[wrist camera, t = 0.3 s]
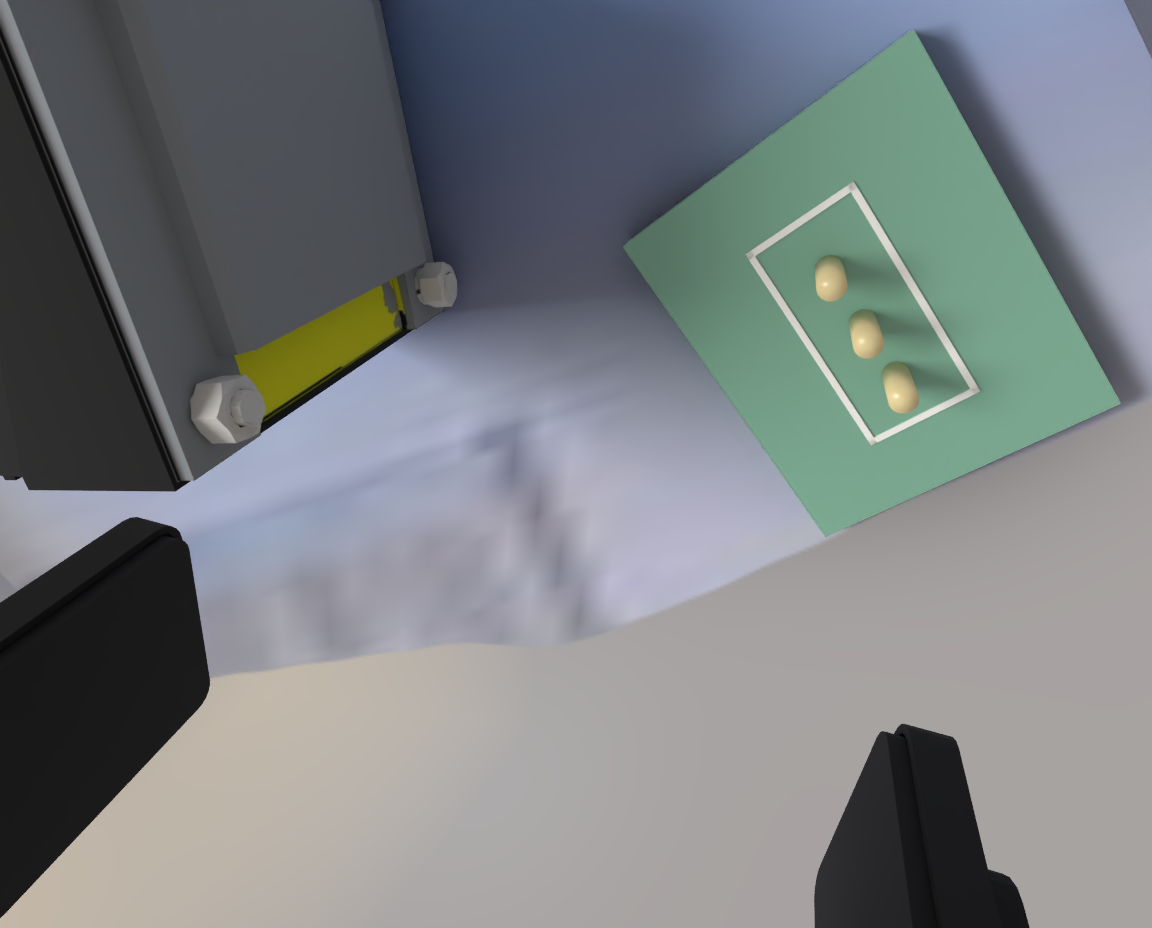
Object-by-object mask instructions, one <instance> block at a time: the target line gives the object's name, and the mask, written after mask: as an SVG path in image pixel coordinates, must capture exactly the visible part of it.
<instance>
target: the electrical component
mask: <svg viewBox="0 0 1152 928" xmlns="http://www.w3.org/2000/svg"><path fill="white" fill-rule="evenodd" d="M456 297H457V279H456V276H455V273H454V271H453V268H452V267H451V266H450V265H449V264H446V263H444V262H434V259H433V255H432V250H431V245H430V240H429V235H428V231H427V226H426V221H425V216H424V211H423V206H422V202H421V197H420V192H419V187H418V182H417V177H416V173H415V168H414V163H413V158H412V153H411V149H410V144H409V139H408V134H407V129H406V124H405V120H404V115H403V110H402V105H401V100H400V96H399V91H398V86H397V81H396V76H395V71H394V67H393V62H392V57H391V52H390V47H389V43H388V38H387V33H386V28H385V23H384V18H383V14H382V9H381V4H380V0H0V476H3V477H4V479H5V480H17V479H19V478H21V477H23V479H24V481H25V483H26V485H27V487H28V489H29V490H84V491H177V490H178V489H180V488H181V487H183V486H184V485H186V484H187V483H188V482H190V481H195V480H196V479H197V478H199V477H200V476H202V475H203V474H205V473H206V472H208V471H209V470H211V469H212V468H214V467H215V466H216V465H218V464H219V463H221V462H222V461H224V460H225V459H227V458H228V457H230V456H231V455H233V454H234V453H235V452H237V451H238V450H240V449H241V448H243V447H244V446H246V445H247V444H249V443H250V442H252V441H253V440H255V439H256V438H257V437H259V436H260V435H261V433H262V432H263V431H265V430H266V429H268V428H269V427H271V426H272V425H274V424H275V423H277V422H278V421H280V420H281V419H283V418H284V417H286V416H287V415H288V414H290V413H291V412H293V411H294V410H296V409H297V408H299V407H300V406H302V405H303V404H305V403H306V402H308V401H309V400H311V399H312V398H313V397H315V396H316V395H318V394H319V393H321V392H322V391H324V390H325V389H327V388H328V387H330V386H331V385H333V384H334V383H336V382H337V381H338V380H340V379H341V378H343V377H344V376H346V375H347V374H349V373H350V372H352V371H353V370H355V369H356V368H358V367H359V366H361V365H362V364H363V363H365V362H366V361H368V360H369V359H371V358H372V357H374V356H375V355H377V354H378V353H380V352H381V351H383V350H384V349H386V348H387V347H388V346H390V345H391V344H393V343H394V342H396V341H397V340H399V339H400V338H402V337H403V336H405V335H406V334H408V333H409V332H411V331H412V330H413V329H417V328H418V327H420V326H421V325H423V324H424V323H426V322H427V321H429V320H430V319H432V318H433V317H434V316H436V315H437V314H439V313H440V312H442V311H443V310H444V308H443V307H452V305H453V304H454V302H455V300H456Z"/></svg>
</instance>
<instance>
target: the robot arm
mask: <svg viewBox="0 0 1152 928" xmlns="http://www.w3.org/2000/svg"><path fill="white" fill-rule="evenodd" d="M209 686H210V677H209V671H208V665H207V659H206V652H205V646H204V640H203V633H202V627H201V621H200V614H199V608H198V602H197V595H196V589H195V583H194V576H193V570H192V564H191V557H190V551H189V547H188V545H187V544H186V542H185V541H183V540H182V537H181V534H180V532H179V531H178V530H177V529H176V528H174V527H171V526H168V525H164V524H160V523H157V522H153V521H149V520H146V519H142V518H138V517H135V518H129V519H127V520H125V521H123V522H121V523H120V524H118V525H117V526H115V527H114V528H112V529H111V530H109V531H108V532H106V533H105V534H103V535H102V536H100V537H99V538H97V539H96V540H94V541H93V542H91V543H90V544H88V545H86V546H85V547H83V548H82V549H80V550H79V551H77V552H76V553H74V554H73V555H71V556H70V557H68V558H67V559H65V560H64V561H62V562H61V563H59V564H58V565H56V566H55V567H53V568H52V569H50V570H49V571H47V572H46V573H44V574H43V575H41V576H40V577H38V578H37V579H35V580H34V581H32V582H31V583H29V584H28V585H26V586H25V587H23V588H22V589H20V590H19V591H17V592H16V593H14V594H13V595H11V596H10V597H8V598H7V599H5V600H4V601H2V602H1V603H0V918H1V917H2V916H3V915H4V914H5V913H6V912H7V911H8V910H9V909H10V908H11V906H13V905H14V904H15V902H16V901H17V900H18V899H19V898H20V897H21V896H22V895H23V894H24V893H25V892H26V891H27V890H28V889H29V888H30V886H32V884H33V883H34V882H35V881H36V880H37V879H38V878H39V877H40V876H41V875H42V874H43V873H44V872H45V871H46V870H47V869H48V868H49V866H50V865H51V864H52V863H53V862H54V861H55V860H56V859H57V858H58V857H59V856H60V855H61V854H62V853H63V852H64V851H65V849H66V848H67V847H68V846H69V845H70V844H71V843H72V842H73V841H74V840H75V839H76V838H77V837H78V836H79V835H80V834H81V832H82V831H83V830H84V829H85V828H86V827H87V826H88V825H89V824H90V823H91V822H92V821H93V820H94V819H95V818H96V817H97V815H99V813H100V812H101V811H102V810H103V809H104V808H105V807H106V806H107V805H108V804H109V803H110V802H111V801H112V800H113V798H115V796H116V795H117V794H118V793H119V792H120V791H121V790H122V789H123V788H124V787H125V786H126V785H127V783H129V782H130V781H131V780H132V778H133V777H134V776H135V775H136V774H137V773H138V772H139V771H140V770H141V769H142V768H143V767H144V766H145V765H146V764H147V763H148V762H149V760H150V759H151V758H152V757H153V756H154V755H155V754H156V753H157V752H158V751H159V750H160V749H161V748H162V747H163V745H164V744H165V743H166V742H167V741H168V740H169V739H170V738H171V737H172V736H173V735H174V734H175V733H176V732H177V730H179V729H180V728H181V726H182V725H183V724H184V723H185V722H186V721H187V720H188V719H189V718H190V717H191V716H192V715H193V714H194V713H195V712H196V711H197V710H198V708H199V707H200V706H201V705H202V703H203V702H204V700H205V698H206V696H207V694H208V691H209ZM814 898H815V899H814V900H815V901H814V903H815V905H814V906H815V928H1029V924H1028V920H1027V917H1026V913H1025V909H1024V906H1023V903H1022V900H1021V897H1020V894H1019V892H1018V889H1017V887H1016V886H1015V884H1014V883H1013V881H1012V880H1011V879H1010V877H1008V876H1006V875H1004V874H1002V873H998V872H995V871H991V870H988V868H987V864H986V860H985V856H984V852H983V848H982V843H981V839H980V835H979V831H978V827H977V822H976V819H975V814H974V810H973V805H972V801H971V797H970V793H969V789H968V784H967V780H966V776H965V772H964V768H963V764H962V759H961V755H960V751H959V748H958V745H957V742H956V740H955V739H954V738H953V737H951V736H947V735H943V734H939V733H936V732H932V731H928V730H924V729H921V728H917V727H914V726H910V725H906V724H901V725H900V726H899V727H898V728H897V730H896V731H895V733H894V734H891V733H888V732H883V731H882V732H880V733H879V735H878V737H877V738H876V741H875V743H874V745H873V747H872V750H871V752H870V754H869V757H868V759H867V761H866V763H865V766H864V768H863V770H862V772H861V775H860V777H859V779H858V781H857V784H856V786H855V788H854V790H853V793H852V795H851V797H850V799H849V802H848V804H847V806H846V808H845V811H844V813H843V815H842V818H841V820H840V822H839V825H838V827H837V829H836V831H835V833H834V836H833V838H832V840H831V843H830V845H829V847H828V849H827V852H826V854H825V856H824V858H823V861H822V863H821V865H820V868H819V871H818V875H817V879H816V885H815V897H814Z"/></svg>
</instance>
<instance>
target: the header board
mask: <svg viewBox="0 0 1152 928" xmlns="http://www.w3.org/2000/svg"><path fill="white" fill-rule="evenodd" d="M623 249H624V250H625V252H626V253H627V254H628V256H629V257H630V259H631V260H632V262H633V263H634V264H635V266H636V267H637V269H638V270H639V271H640V273H641V274H642V276H643V277H644V279H645V280H646V281H647V283H648V284H649V286H650V287H651V289H652V290H653V291H654V293H655V294H656V296H657V297H658V299H659V300H660V301H661V303H662V304H663V306H664V307H665V309H666V310H667V311H668V313H669V314H670V316H671V317H672V319H673V320H674V321H675V323H676V324H677V326H678V327H679V329H680V330H681V331H682V333H683V334H684V336H685V337H686V339H687V340H688V341H689V343H690V344H691V346H692V347H693V349H694V350H695V351H696V353H697V354H698V356H699V357H700V359H701V360H702V361H703V363H704V364H705V366H706V367H707V369H708V370H709V371H710V373H711V374H712V376H713V377H714V379H715V380H716V381H717V383H718V384H719V386H720V387H721V389H722V390H723V391H724V393H725V394H726V396H727V397H728V399H729V400H730V401H731V403H732V404H733V406H734V407H735V408H736V410H737V411H738V413H739V414H740V416H741V417H742V418H743V420H744V421H745V423H746V424H747V426H748V427H749V428H750V430H751V431H752V433H753V434H754V436H755V437H756V438H757V440H758V441H759V443H760V444H761V446H762V447H763V448H764V450H765V451H766V453H767V454H768V456H769V457H770V458H771V460H772V461H773V463H774V464H775V466H776V467H777V468H778V470H779V471H780V473H781V474H782V476H783V477H784V478H785V480H786V481H787V483H788V484H789V486H790V487H791V488H792V490H793V491H794V493H795V494H796V496H797V497H798V498H799V500H800V501H801V503H802V504H803V506H804V507H805V508H806V510H807V511H808V513H809V514H810V516H811V517H812V518H813V520H814V521H815V523H816V524H817V526H818V527H819V528H820V530H821V531H822V533H823V534H824V535H825V537H827V536H829V535H831V534H833V533H835V532H838V531H840V530H842V529H844V528H847V527H849V526H851V525H853V524H855V523H858V522H860V521H862V520H864V519H867V518H869V517H871V516H873V515H875V514H878V513H880V512H882V511H884V510H886V509H889V508H891V507H893V506H895V505H898V504H900V503H902V502H904V501H906V500H909V499H911V498H913V497H915V496H918V495H920V494H922V493H924V492H926V491H929V490H931V489H933V488H935V487H938V486H940V485H942V484H944V483H946V482H949V481H951V480H953V479H955V478H957V477H960V476H962V475H964V474H966V473H969V472H971V471H973V470H975V469H977V468H980V467H982V466H984V465H986V464H989V463H991V462H993V461H995V460H997V459H1000V458H1002V457H1004V456H1006V455H1008V454H1011V453H1013V452H1015V451H1017V450H1020V449H1022V448H1024V447H1026V446H1028V445H1031V444H1033V443H1035V442H1037V441H1040V440H1042V439H1044V438H1046V437H1048V436H1051V435H1053V434H1055V433H1057V432H1059V431H1062V430H1064V429H1066V428H1068V427H1071V426H1073V425H1075V424H1077V423H1079V422H1082V421H1084V420H1086V419H1088V418H1091V417H1093V416H1095V415H1097V414H1099V413H1102V412H1104V411H1106V410H1108V409H1111V408H1113V407H1115V406H1117V405H1119V404H1121V402H1120V400H1119V399H1118V397H1117V395H1116V393H1115V391H1114V389H1113V388H1112V386H1111V384H1110V382H1109V380H1108V379H1107V377H1106V375H1105V373H1104V371H1103V370H1102V368H1101V366H1100V364H1099V362H1098V361H1097V359H1096V357H1095V355H1094V353H1093V352H1092V350H1091V348H1090V346H1089V344H1088V343H1087V341H1086V339H1085V337H1084V335H1083V333H1082V332H1081V330H1080V328H1079V326H1078V324H1077V323H1076V321H1075V319H1074V317H1073V315H1072V314H1071V312H1070V310H1069V308H1068V306H1067V305H1066V303H1065V301H1064V299H1063V297H1062V296H1061V294H1060V292H1059V290H1058V288H1057V287H1056V285H1055V283H1054V281H1053V279H1052V278H1051V276H1050V274H1049V272H1048V270H1047V268H1046V267H1045V265H1044V263H1043V261H1042V259H1041V258H1040V256H1039V254H1038V252H1037V250H1036V249H1035V247H1034V245H1033V243H1032V241H1031V240H1030V238H1029V236H1028V234H1027V232H1026V231H1025V229H1024V227H1023V225H1022V223H1021V222H1020V220H1019V218H1018V216H1017V214H1016V212H1015V211H1014V209H1013V207H1012V205H1011V203H1010V202H1009V200H1008V198H1007V196H1006V194H1005V193H1004V191H1003V189H1002V187H1001V185H1000V184H999V182H998V180H997V178H996V176H995V175H994V173H993V171H992V169H991V167H990V166H989V164H988V162H987V160H986V158H985V156H984V155H983V153H982V151H981V149H980V147H979V146H978V144H977V142H976V140H975V138H974V137H973V135H972V133H971V131H970V129H969V128H968V126H967V124H966V122H965V120H964V119H963V117H962V115H961V113H960V111H959V110H958V108H957V106H956V104H955V102H954V101H953V99H952V97H951V95H950V93H949V91H948V90H947V88H946V86H945V84H944V82H943V81H942V79H941V77H940V75H939V73H938V72H937V70H936V68H935V66H934V64H933V63H932V61H931V59H930V57H929V55H928V54H927V52H926V50H925V48H924V46H923V45H922V43H921V41H920V39H919V37H918V35H917V34H916V32H915V30H914V29H913V30H910V31H908V32H907V33H906V34H904V35H903V36H901V37H900V38H899V39H897V40H896V41H895V42H893V43H892V44H891V45H889V46H888V47H887V48H885V49H884V50H883V51H881V52H880V53H879V54H877V55H876V56H875V57H873V58H872V59H871V60H869V61H868V62H867V63H865V64H864V65H863V66H861V67H860V68H859V69H857V70H856V71H855V72H853V73H852V74H851V75H849V76H848V77H847V78H845V79H844V80H843V81H841V82H840V83H839V84H837V85H836V86H835V87H833V88H832V89H831V90H829V91H828V92H827V93H825V94H824V95H822V96H821V97H820V98H818V99H817V100H816V101H814V102H813V103H812V104H810V105H809V106H808V107H806V108H805V109H804V110H802V111H801V112H800V113H798V114H797V115H796V116H794V117H793V118H792V119H790V120H789V121H788V122H786V123H785V124H784V125H782V126H781V127H780V128H778V129H777V130H776V131H774V132H773V133H772V134H770V135H769V136H768V137H766V138H765V139H764V140H762V141H761V142H760V143H758V144H757V145H756V146H754V147H753V148H752V149H750V150H749V151H748V152H746V153H745V154H744V155H742V156H741V157H739V158H738V159H737V160H735V161H734V162H733V163H731V164H730V165H729V166H727V167H726V168H725V169H723V170H722V171H721V172H719V173H718V174H717V175H715V176H714V177H713V178H711V179H710V180H709V181H707V182H706V183H705V184H703V185H702V186H701V187H699V188H698V189H697V190H695V191H694V192H693V193H691V194H690V195H689V196H687V197H686V198H685V199H683V200H682V201H681V202H679V203H678V204H677V205H675V206H674V207H673V208H671V209H670V210H669V211H667V212H666V213H665V214H663V215H662V216H660V217H659V218H658V219H656V220H655V221H654V222H652V223H651V224H650V225H648V226H647V227H646V228H644V229H643V230H642V231H640V232H639V233H638V234H636V235H635V236H634V237H632V238H631V239H630V240H628V241H627V243H626V244H625V245H624V246H623Z"/></svg>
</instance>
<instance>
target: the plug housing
mask: <svg viewBox="0 0 1152 928" xmlns="http://www.w3.org/2000/svg"><path fill="white" fill-rule="evenodd" d="M1124 1H1125V3H1126V5H1127V7H1128V9H1129V11H1130V13H1131V16H1132V18H1133V20H1134V22H1135V24H1136V26H1137V28H1138V30H1139V32H1140V34H1141V36H1142V39H1143V41H1144V43H1145V45H1146V47H1147V49H1148V51H1149V53H1150V55H1151V57H1152V0H1124Z"/></svg>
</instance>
